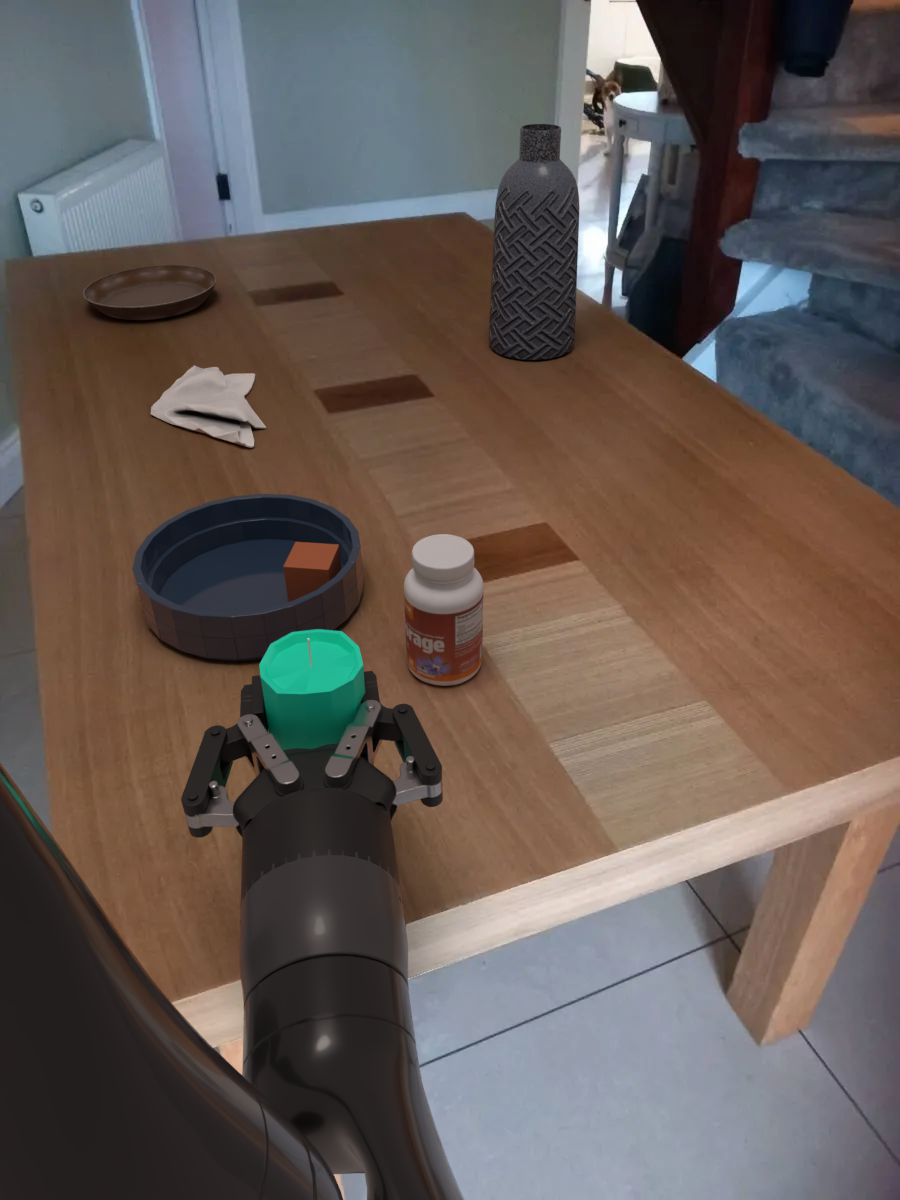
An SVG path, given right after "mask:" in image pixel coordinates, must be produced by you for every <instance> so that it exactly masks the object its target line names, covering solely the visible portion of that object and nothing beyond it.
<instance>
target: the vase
mask: <svg viewBox="0 0 900 1200" xmlns="http://www.w3.org/2000/svg"><path fill="white" fill-rule="evenodd" d="M561 140H562V127H561V126H560V125H556V124H552V123H551V124H550V123H530V124H524V125H522V126H520V129H519V150H518V151H519V152H518V153H519V155H518V157H519V158H518V159H516V161H515V162H514V163H512V164H511V166H509V168H507V170H506V171H505V172H504V174H503V176H502V177H501V179H500V182H499V185H498V188H497V193H496V199H495V204H494V205H495V206H494V222H493V223H494V224H493V225H494V226H493V243H492V260H491V261H492V262H491V263H492V264H491V281H490V282H491V283H490V300H489V301H490V302H489V303H490V304H489V320H488V342H489V346H490V348H491V349H492V351H494V352H495V353H497V354H499V355H501V356H503V357H507V358H510V359H516V360H522V361H523V360H524V361H540V360H542V361H543V360H549V359H550V360H551V359H555V358H558V357H561V356H564V355H566V354H567V353H569V352H570V351H571V350H572V349H573V346H574V343H575V337H576V336H575V335H576V316H577V315H576V314H577V313H576V312H577V290H578V289H577V287H578V284H577V283H578V261H579V259H578V256H579V232H580V194H579V187H578V183H577V180H576V177H575V175H574V174H573V172H572V170H571V169H570V168H569V167H568V166H567V165H566V164H565V163H564V161H562V159H561V158H560V157H561V144H562V143H561V142H562V141H561Z"/></svg>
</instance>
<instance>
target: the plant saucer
mask: <svg viewBox="0 0 900 1200" xmlns="http://www.w3.org/2000/svg"><path fill="white" fill-rule="evenodd" d="M216 282H217V276H216V275H215V273H213V272H212V271H210V270H208V269H206V268H203V267H198V266H193V265H185V264H161V265H160V264H159V265H147V266H142V267H134V268H129V269H124V270H120V271H116V272H114V273H109V274H107V275H104V276H102V277H100V278H97V279H95V280H93V281H92V282H90V283H89V284H88V285H87V286H85V287H84V289H83V291H82V296H83V298H84V299H85V301H86V302H88V303H89V304H90V306H91V307H93V308H94V309H95V310H97V311H99V312H100V313H102V314H103V315H105V316H108V317H111V318H113V319H117V320H122V321H123V320H126V321H152V320H153V321H154V320H162V319H168V318H172V317H175V316H180V315H182V314H186V313H188V312H191V311H193V310H195V309H197V308H199V307H200V306H201V305H202V304H204V302H206V300H207V299H209V296H210V295H211V293H212V292H213V290H214V288H215V286H216V284H217V283H216Z"/></svg>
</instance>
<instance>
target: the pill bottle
mask: <svg viewBox="0 0 900 1200" xmlns="http://www.w3.org/2000/svg"><path fill="white" fill-rule="evenodd" d="M480 573H481V572H479V571H478V569H477V568H476V567H475V549H474V547H473V544H472V543H471V542H469V541H468V540H467V539H465V538H463V537H461V536H458V535H454V534H449V533H445V534H444V533H441V534H440V533H439V534H438V533H437V534H432V535H429V536H425V537H422V538H421V539H419V540H418V541H416V542H415V543H414V545H413V547H412V550H411V569H410V570H409V571H408V572H407V574H406V576H405V578H404V582H403V604H404V624H405V625H404V627H405V651H406V653H405V654H406V656H405V657H406V664H407V667H408V669H409V671H410V672H411V673H412V675H413V676H414V677H416V678H417V679H419V680H420V681H422V682H424V683H426V684H430V685H435V686H445V687H446V686H455V685H460V684H462V683H464V682H466V681H468V680H470V679H471V678H473V677H474V676H475V675H476V674H477V673H478V671H479V670H480V668H481V666H482V661H483V633H484V631H483V630H484V596H485V595H484V594H485V593H484V592H485V591H484V590H485V589H484V588H485V587H484V585H485V584H484V580H483V577H482V575H481V574H480Z"/></svg>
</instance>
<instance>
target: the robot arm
mask: <svg viewBox="0 0 900 1200" xmlns="http://www.w3.org/2000/svg"><path fill="white" fill-rule="evenodd" d="M377 679H378V678H377V675H376V673H375V672H374V671H373V670H367V671H365V670H364V682H365V694H364V696H363V698H362V699H361V706H360V708H359V710H358V712H357V714H356V716H355V718H354V721H353V723H349V724H348V725H347V727H346V729H345V732H344V734H343V736H342V738H341V740H340V742H339V743H336V744H328V745H324V746H321V747H317V748H314V749H301V748H295V749H287V750H282V748H281V747H280V745H279V744H278V742H277V741H276V739H275V737H274V736H273V734H272V733H271V732H270V733H269V730H268V723H267V716H266V710H265V703H264V696H263V690H262V683H261V676H260V674H258V675H252V676H251V683H249V684H244V685H243V687H242V689H240V703H239V705H240V706H239V707H240V709H239V713H240V714H239V718H238V720H237V722H236V723H235V724H234V725H232V726H230V727H227V728H226V727H225V726H223V725H217V724H216V725H212V726H209V727H208V728H207V729H206V730H205V731H204V734H203V736H202V739H201V742H200V745H199V748H198V751H197V753H196V755H195V758H194V761H193V764H192V767H191V770H190V773H189V775H188V778H187V781H186V783H185V787H184V788H183V792H182V794H181V797H180V802H181V805H182V809H183V814H184V817H185V821H186V825H187V827H188V831H189V834H190V835H191V836H192V837H194V838H204V837H206V836H208V835H209V834H211V833H212V831H213V828H214V827H217V828H236V832H237V833H238V834H239V836H240V837H241V838H242V839H241V870H240V871H241V873H240V875H241V877H240V906H239V907H240V909H239V946H238V947H239V948H238V949H239V952H238V962H239V963H238V964H239V965H238V966H239V977H240V983H241V990H242V998H243V1024H242V1025H243V1027H242V1029H243V1030H242V1031H243V1033H242V1071H241V1072H242V1074H241V1073H240V1072H239V1071H238V1070H237V1069H236V1068H235V1067H234V1066H233V1065H232V1064H231V1063H230V1062H229V1061H228V1060H226V1058H224V1057H223V1056H222V1054H220V1053H219V1052H218V1051H217V1050H216V1049H215V1048H214V1047H213V1046H212V1045H211V1044H210V1043H209V1042H208V1041H207V1040H206V1039H205V1038H204V1037H203V1036H202V1035H201V1033H199V1031H198V1030H197V1029H196V1028H195V1027H194V1026H193V1025H192V1024H191V1022H190V1021H188V1019H187V1018H185V1016H184V1015H183V1014H182V1013H181V1012H180V1010H178V1008H176V1006H175V1005H174V1004H173V1003H172V1002H171V1001H170V999H169V998H168V997H167V995H166V994H165V993H164V991H162V989H161V988H160V986H158V985H157V983H156V982H155V981H154V979H153V978H152V977H151V975H150V974H149V973H148V971H146V969H145V968H144V966H143V965H142V963H141V962H140V961H139V959H138V958H137V957H136V955H135V954H134V952H133V951H132V949H131V948H130V947H129V946H128V944H127V942H126V941H125V940H124V938H123V937H122V934H120V932H119V931H118V929H117V928H116V927H115V925H114V924H113V922H112V920H111V919H110V918H109V916H108V914H107V913H106V912H105V910H104V909H103V907H102V906H101V905H100V903H99V901H98V899H96V897H95V895H94V894H93V892H92V891H91V890H90V888H89V886H88V885H87V883H86V882H85V881H84V880H83V878H82V876H81V875H80V874H79V872H78V871H77V869H76V868H75V866H74V865H73V863H72V862H71V860H70V859H69V858H68V856H67V855H66V853H65V852H64V851H63V849H62V847H61V846H60V845H59V843H58V841H57V840H56V839H55V837H54V836H53V834H52V832H50V830H49V828H48V827H47V825H46V824H45V823H44V821H43V820H42V819H41V817H40V816H39V814H38V813H37V812H36V810H35V809H34V808H33V806H32V805H31V803H30V802H29V800H28V799H27V798H26V796H25V795H24V794H23V792H22V790H21V789H20V788H19V786H18V785H17V783H16V782H15V781H14V779H13V778H12V776H11V775H10V774H9V773H8V771H7V770H6V768H5V767H4V766H3V764H2V762H0V1200H344V1198H343V1194H342V1190H341V1188H340V1186H339V1184H338V1183H339V1182H338V1181H337V1178H336V1176H335V1175H347V1174H348V1175H349V1174H351V1175H352V1174H364V1178H365V1185H366V1200H465V1198H464V1196H463V1193H462V1191H461V1189H460V1186H459V1183H458V1181H457V1178H456V1176H455V1175H454V1172H453V1170H452V1167H451V1165H450V1162H449V1160H448V1156H447V1154H446V1151H445V1149H444V1146H443V1143H442V1140H441V1138H440V1135H439V1131H438V1130H437V1125H436V1123H435V1121H434V1116H433V1114H432V1111H431V1107H430V1104H429V1101H428V1098H427V1093H426V1090H425V1087H424V1083H423V1078H422V1074H421V1068H420V1062H419V1054H418V1049H417V1042H416V1035H415V1027H414V1021H413V1013H412V1005H411V998H410V989H409V943H408V932H407V919H406V915H405V914H406V913H405V911H404V905H403V898H402V890H401V884H400V875H399V869H398V868H399V867H398V861H397V854H396V847H395V840H394V833H393V826H392V820H393V818H394V817H395V814H396V812H397V810H398V806H401V805H404V804H408V803H411V802H415V801H419V800H420V802H421V803H422V805H424V806H425V807H428V808H435V807H438V806H440V805H441V804H442V803H443V799H444V796H443V795H444V794H443V793H444V792H443V790H444V789H443V766H442V763H441V761H440V759H439V757H438V755H437V753H436V751H435V750H434V747H433V745H432V743H431V741H430V740H429V737H428V736H427V733H426V732H425V729H424V728H423V726H422V723H421V721H420V719H419V717H418V716H417V713H416V711H415V709H414V708H413V706H412V705H411V704H408V703H399V704H396V705H394V707H393V708H392V707H391V708H390V707H386V706H384V705H383V704H382V703H381V699H380V693H379V687H378V686H379V685H378V680H377ZM383 741H389V742H394V745H395V747H396V749H397V752H398V754H399V756H400V758H401V761H402V762H403V763H401V765H400V766H399V777H398V778H397V779H395V780H394V781H393V779H391V778H390V776H388V775H387V774H385V773H384V772H382V770H380V769H379V768H378V767H376V766H375V759H376V757H377V755H378V752H379V750H380V747H381V745H382V742H383ZM243 758H245V761H247V763H248V764H249V766H250V768H251V770H252V772H253V773H254V775H255V778H254V779H253V780H252V781H251V782H250V783H249V785H247V786H246V787H245V789H244V790H243V791H242V792H241V793H240V794H239V795H238V796H237V798H236V799H235V801H233V800H230V799H229V794H228V790H227V788H226V787H227V783H228V780H229V778H230V773H231V770H232V769H233V768H232V767H233V764H234V761H236V760H240V759H243Z"/></svg>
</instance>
